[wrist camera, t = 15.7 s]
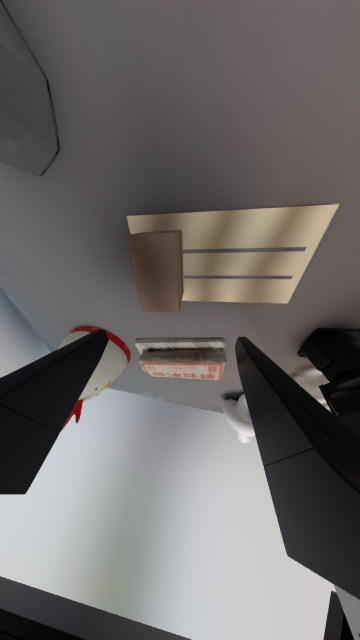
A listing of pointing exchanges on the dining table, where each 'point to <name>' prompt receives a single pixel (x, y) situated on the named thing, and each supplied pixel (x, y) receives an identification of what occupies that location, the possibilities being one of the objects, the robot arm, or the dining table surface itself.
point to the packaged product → (183, 357)
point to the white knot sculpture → (239, 418)
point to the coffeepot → (23, 105)
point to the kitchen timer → (99, 366)
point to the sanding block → (158, 268)
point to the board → (243, 250)
